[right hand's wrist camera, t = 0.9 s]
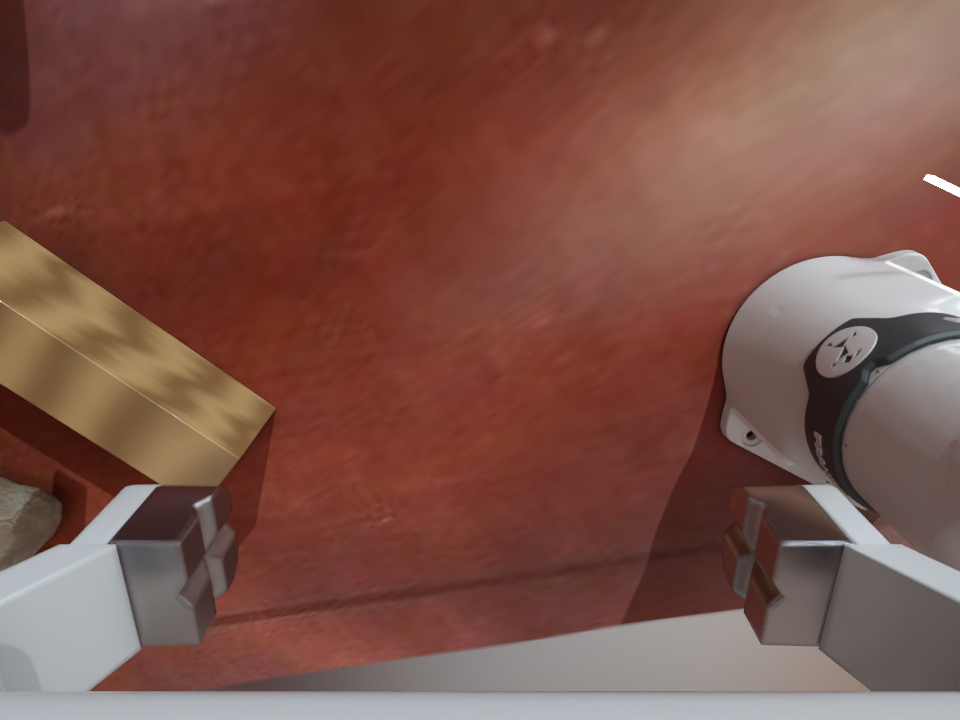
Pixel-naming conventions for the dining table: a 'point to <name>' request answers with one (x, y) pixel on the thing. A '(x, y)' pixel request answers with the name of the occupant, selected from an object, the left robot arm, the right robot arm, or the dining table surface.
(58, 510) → the lumpy boulder
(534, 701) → the right robot arm
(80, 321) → the bar
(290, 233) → the dining table surface
